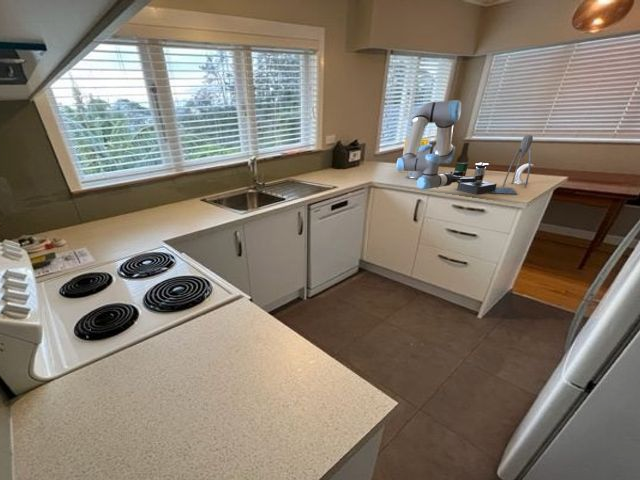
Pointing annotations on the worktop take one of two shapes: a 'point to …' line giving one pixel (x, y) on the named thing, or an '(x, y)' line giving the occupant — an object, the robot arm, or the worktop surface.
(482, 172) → the blade unit
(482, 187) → the blender base
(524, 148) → the citrus juicer
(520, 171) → the curved silver pipe
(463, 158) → the beer bottle
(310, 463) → the worktop surface
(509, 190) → the mat
